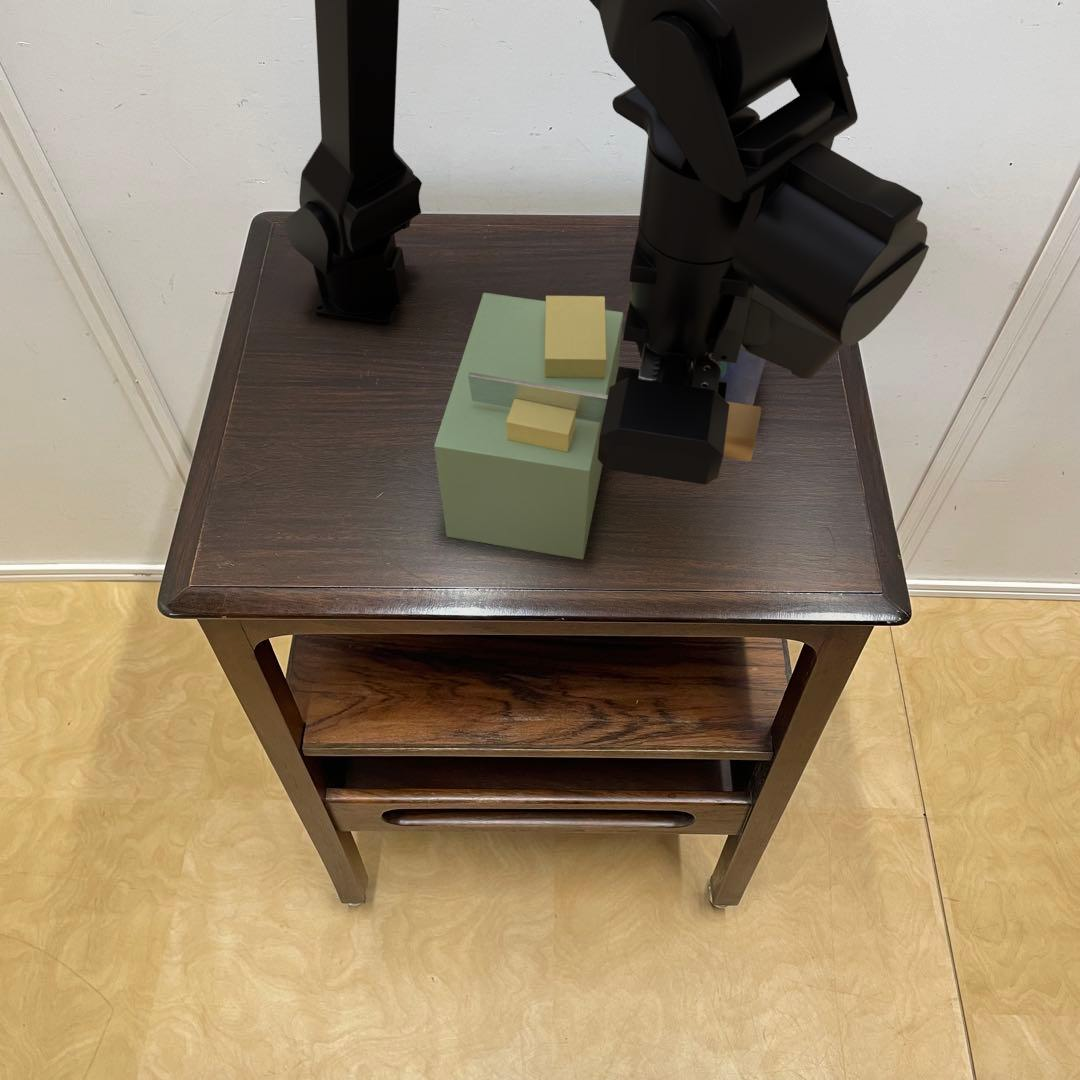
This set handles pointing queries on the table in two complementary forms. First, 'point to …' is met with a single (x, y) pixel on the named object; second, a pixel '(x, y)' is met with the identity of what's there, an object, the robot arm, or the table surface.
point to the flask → (742, 377)
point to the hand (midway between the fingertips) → (663, 427)
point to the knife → (593, 406)
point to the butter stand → (513, 467)
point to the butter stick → (575, 337)
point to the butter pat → (541, 425)
